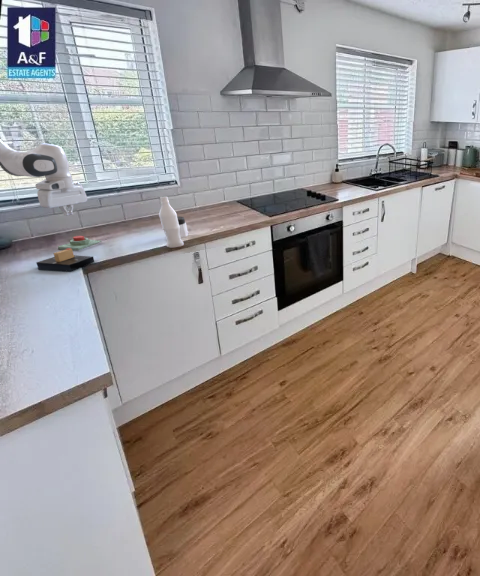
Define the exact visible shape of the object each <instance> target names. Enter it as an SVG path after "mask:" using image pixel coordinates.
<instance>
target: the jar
mask: <svg viewBox="0 0 480 576" xmlns="http://www.w3.org/2000/svg"><path fill="white" fill-rule="evenodd" d="M177 218H178V223H179V226H180V231H179V233H180V238H181V239H182V238H187V237H188V236H189V230H188V225H187V222H186V220H185V217H184V216H177Z"/></svg>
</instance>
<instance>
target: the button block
mask: <svg viewBox="0 0 480 576" xmlns="http://www.w3.org/2000/svg"><path fill="white" fill-rule="evenodd" d="M84 239H85V240H82V241H74V239H73V238H71V239H70V240H69V242H68V243H65V244H61V245H59V246H57V249H58V250H61V251H62V250H65V249H67V248H71V249H72V250H73V251H81V250H83V249H86V248H88V247H91V246H94V245H96V244H98V243H101V242H102V240H97V239H89V238H88V237H84Z"/></svg>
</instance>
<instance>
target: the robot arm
mask: <svg viewBox="0 0 480 576" xmlns="http://www.w3.org/2000/svg"><path fill="white" fill-rule="evenodd" d="M0 168H1V169H2V170H3V171H4V172H5V173H6V174H9V175H11V176H14V177H28V178H29V177H30V178H42V177H45V179H43V180H41V181H39V182H37V183H35V189H37V193H36V194H37V199H38V203H39V205H40V206H41V208H43V209H54V208H59V210H60V211H62V214H63V216H65V217H67V216H73V215H74V212H73V211H74V206H75V205H78V204H83V203H87V202H88V195H87V193H86V191H85V188H84V187H83V184H82V183H80V182H79V181H74V180H73V176H72V174H71V172H70V164H69V160H68V157H67V153H66V152H65V150H64V149H63V148H62V146H60V145H57V144H52V143H46V142H45V143H39V144H38V145H37V146H36V147H34V148H33V149H30V150H27V151H19V150H16V149H13V148H11V147H10V146H8V145H7V144H6V143H5V142H4V141H3V140H2V139H0Z"/></svg>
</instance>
